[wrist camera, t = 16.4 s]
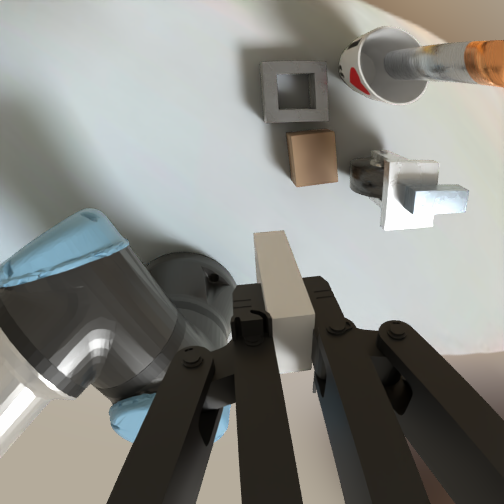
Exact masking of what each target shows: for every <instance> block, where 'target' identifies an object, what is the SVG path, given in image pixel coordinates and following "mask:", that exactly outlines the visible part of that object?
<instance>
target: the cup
mask: <svg viewBox="0 0 504 504" xmlns="http://www.w3.org/2000/svg"><path fill="white" fill-rule="evenodd" d="M414 47H421V44H420V43H419V42H418V40H417V39H416V38H415V37H413V36H412V35H411V34H410V33H408V32H406V31H405V30H403V29H400V28H397V27H392V26H383V27H379V28H376V29H374V30H372V31H370V32H368V33H366V34H364V35H362V36H360V37H358V38H357V39H355V40H354V41H353V42H352V43H351V44H350V45H349V46H348V47H347V48H346V49H345V50H344V51H343V53H342V55H341V57H340V61H339V73H340V76H341V78H342V79H343V80H344V82H345V83H346V84H347V85H348V86H349V87H350V88H351V89H352V90H354V91H356V92H358V93H360V94H362V95H364V96H366V97H368V98H370V99H373V100H377V101H381V102H385V103H389V104H393V105H407V104H410V103H413V102H415V101H416V100H418V99H419V98H420V97H421V96H422V95H423V93H424V92H425V90H426V88H427V86H428V83H429V81H423V80H396V79H393V78H391V77H390V76H389V75H388V74H387V72H386V71H385V68H384V58H385V56H386V54H387V53H389V52H390V51H395V50H401V49H407V48H414Z"/></svg>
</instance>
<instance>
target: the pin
mask: <svg viewBox="0 0 504 504" xmlns="http://www.w3.org/2000/svg"><path fill="white" fill-rule="evenodd" d="M384 68H385V71H386V72H387V74H388V75H389V76H390V77H391V78H393V79H396V80H423V81H445V82H459V83H470V84H480V85H489V86H497V87H504V40H495V41H471V42H457V43H447V44H437V45H429V46H421V47H414V48H407V49H401V50H395V51H390V52H389V53H387V54H386V56H385V58H384Z"/></svg>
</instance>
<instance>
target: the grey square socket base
mask: <svg viewBox="0 0 504 504" xmlns="http://www.w3.org/2000/svg"><path fill="white" fill-rule="evenodd" d="M285 74H308V82H309V101H310V108H287V109H279V107H278V91H277V76H276V75H285ZM260 76H261V90H262V104H263V119H264V122H265V123H282V122H310V121H329V112H328V87H327V68H326V61H265V62H261V63H260Z"/></svg>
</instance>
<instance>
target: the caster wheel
mask: <svg viewBox="0 0 504 504" xmlns="http://www.w3.org/2000/svg"><path fill="white" fill-rule="evenodd" d="M438 173H439V163H438V162H436V161H434V160H408V159H406V158H404V157H402V156H400V155H397V154H395V153H393V152H391V151H387V150H380V151H371V157H367V158H357V159H354V160H352V161H351V162H350V188H351V189H352V190H353V191H354V192H356V193H359V194H361V195H365V196H368V197H369V198H370V199H371V200H372V201H374V202H375V203H376V204H377V205H378V206H379V207H381V219H380V226H381V227H382V228H383V229H384V230H395V229H407V228H419V227H431V226H432V222H433V215H434V214H445V213H463V212H466V207H467V201H468V195H469V190H467V189H465V188H463V187H462V186H460V185H437V183H438Z"/></svg>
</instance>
